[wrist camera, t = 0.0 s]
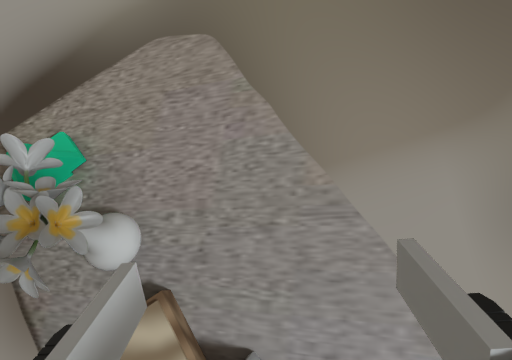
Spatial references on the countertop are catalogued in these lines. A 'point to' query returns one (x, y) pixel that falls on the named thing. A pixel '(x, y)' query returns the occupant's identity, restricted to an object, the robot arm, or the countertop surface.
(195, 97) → the countertop surface
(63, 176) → the camera mount
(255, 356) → the electrical switch
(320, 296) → the countertop surface
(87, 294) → the countertop surface
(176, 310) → the wooden box
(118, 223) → the flower vase
